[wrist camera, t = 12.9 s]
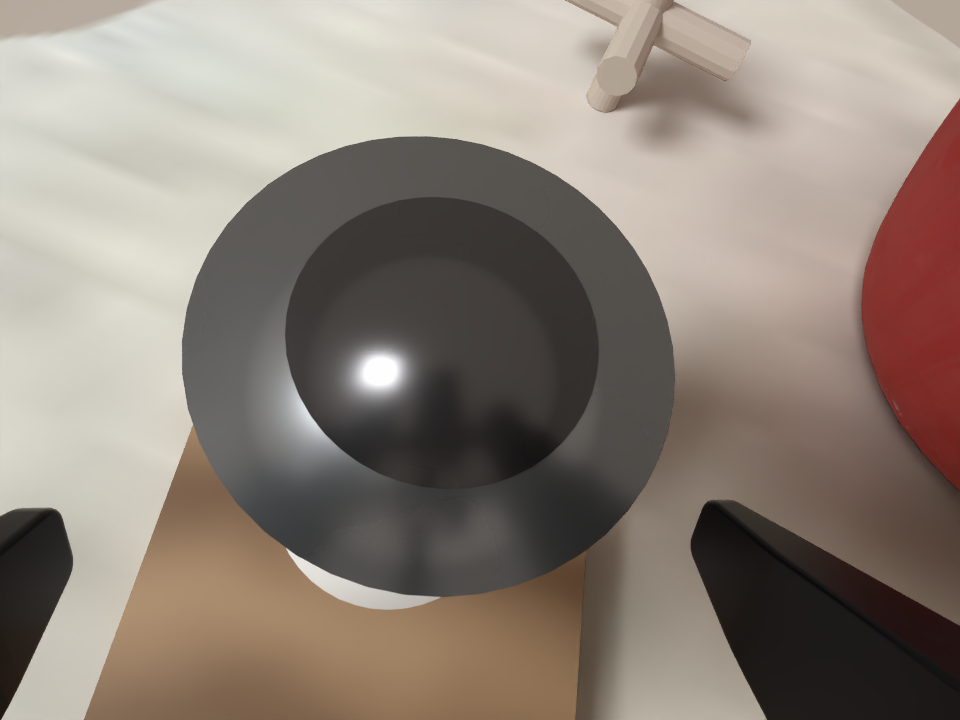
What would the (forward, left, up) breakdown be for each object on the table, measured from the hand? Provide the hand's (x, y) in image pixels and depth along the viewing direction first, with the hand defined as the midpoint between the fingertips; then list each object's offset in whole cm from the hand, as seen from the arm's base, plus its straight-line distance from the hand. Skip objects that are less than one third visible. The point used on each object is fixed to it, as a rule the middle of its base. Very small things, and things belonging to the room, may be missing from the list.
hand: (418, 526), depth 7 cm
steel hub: (+2, 0, -10) cm, 10 cm away
